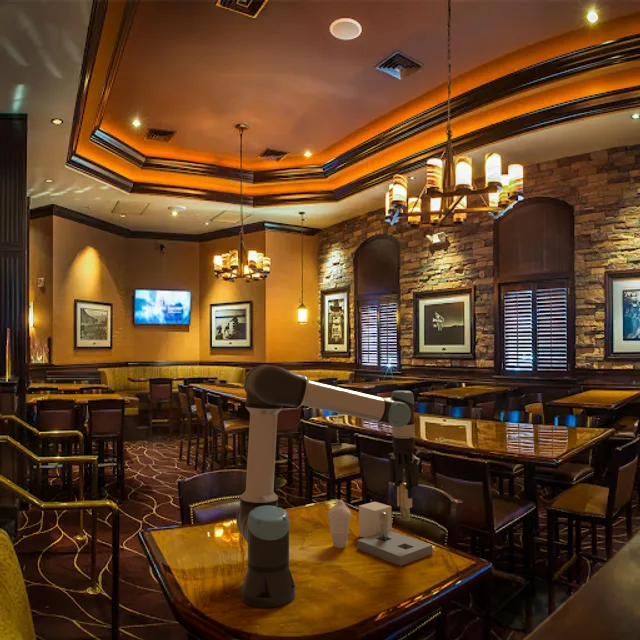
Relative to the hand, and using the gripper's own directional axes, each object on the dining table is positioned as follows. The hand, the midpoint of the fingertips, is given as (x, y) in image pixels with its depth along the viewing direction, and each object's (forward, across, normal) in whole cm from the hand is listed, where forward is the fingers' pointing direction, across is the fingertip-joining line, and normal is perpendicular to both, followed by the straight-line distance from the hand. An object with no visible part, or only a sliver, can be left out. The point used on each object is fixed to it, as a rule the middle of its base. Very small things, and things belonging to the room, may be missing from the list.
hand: (404, 506), depth 181 cm
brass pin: (+4, 0, 0) cm, 4 cm away
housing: (+16, +20, -6) cm, 26 cm away
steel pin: (+16, +10, 0) cm, 19 cm away
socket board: (+16, +5, 0) cm, 17 cm away
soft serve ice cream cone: (+16, +21, +11) cm, 29 cm away
